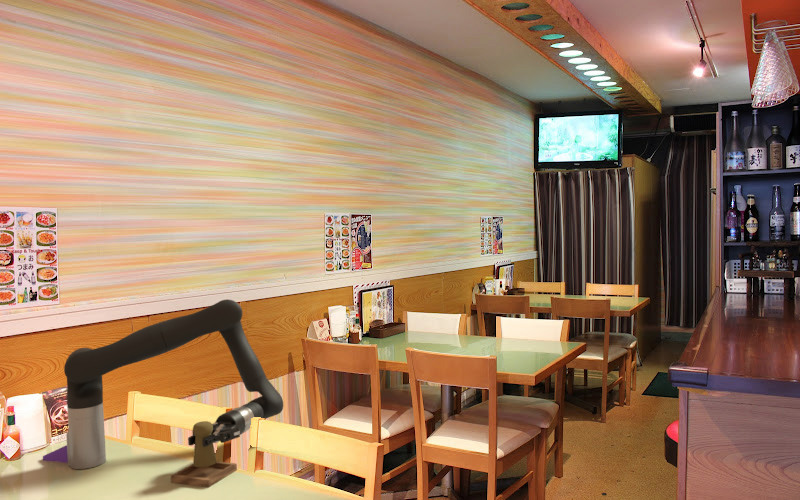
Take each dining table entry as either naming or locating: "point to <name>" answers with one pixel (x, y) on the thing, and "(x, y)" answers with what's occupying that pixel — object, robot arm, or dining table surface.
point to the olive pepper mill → (202, 454)
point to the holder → (204, 474)
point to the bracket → (57, 455)
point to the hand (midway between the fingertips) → (196, 442)
